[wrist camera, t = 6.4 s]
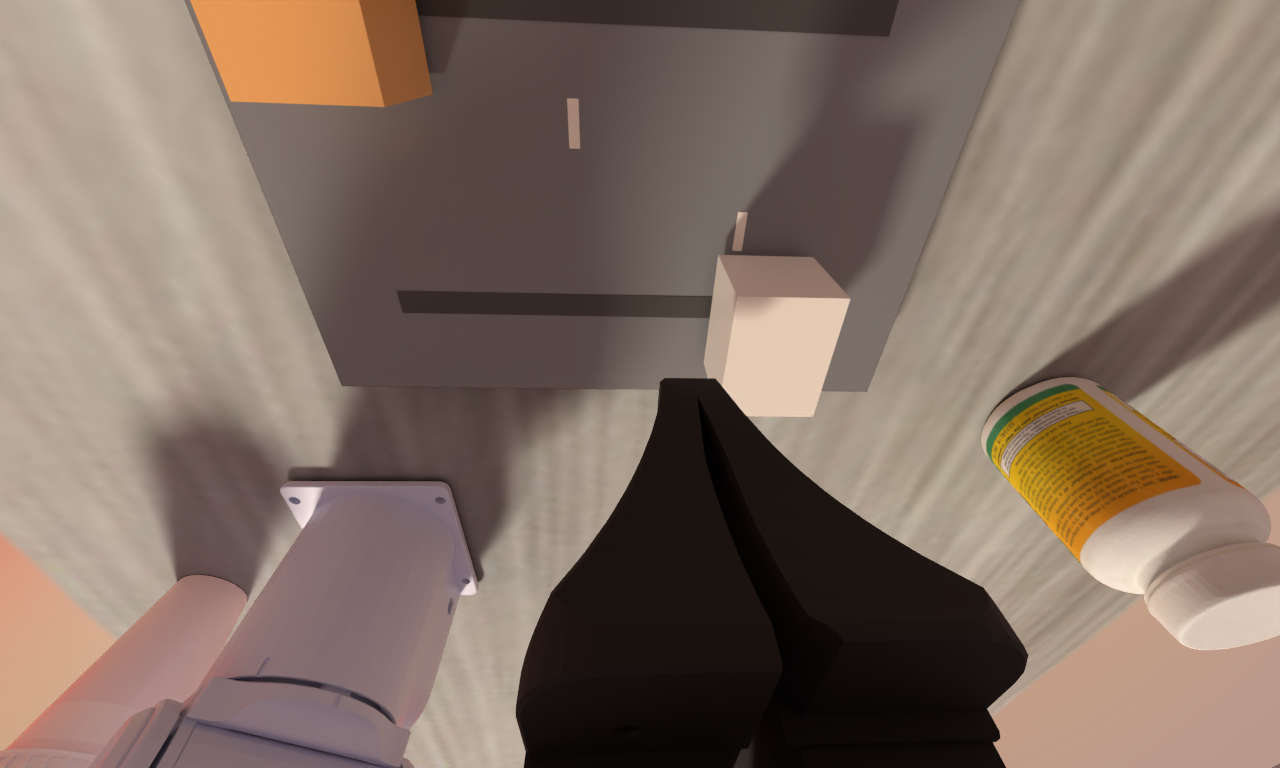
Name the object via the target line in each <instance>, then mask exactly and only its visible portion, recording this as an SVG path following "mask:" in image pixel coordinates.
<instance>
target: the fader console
mask: <svg viewBox="0 0 1280 768" xmlns="http://www.w3.org/2000/svg"><path fill="white" fill-rule="evenodd" d="M1019 1H1020V0H415V2H416V7H417V12H418V18H419V23H420V28H421V34H422V39H423V44H424V50H425V55H426V60H427V66H428V71H429V76H430V81H431V87H432V92H433V95H430V96H426V97H422V98H418V99H414V100H410V101H406V102H402V103H398V104H395V105H391V106H387V107H369V106H342V105H314V104H286V103H259V102H231V100H230V98H229V95H228V93H227V90H226V88H225V86H224V83H223V81H222V78H221V76H220V73H219V71H218V68H217V66H216V63H215V61H214V58H213V56H212V53H211V51H210V48H209V46H208V43H207V41H206V38H205V36H204V33H203V31H202V28H201V26H200V24H199V21H198V19H197V16H196V14H195V11H194V9H193V6H192V4H191V1H190V0H185V3H186V5H187V8H188V10H189V13H190V15H191V17H192V20H193V22H194V25H195V27H196V30H197V32H198V35H199V37H200V39H201V42H202V44H203V47H204V49H205V52H206V54H207V57H208V59H209V62H210V64H211V66H212V69H213V71H214V74H215V76H216V79H217V81H218V84H219V86H220V88H221V91H222V93H223V96H224V98H225V101H226V103H227V106H228V108H229V110H230V113H231V115H232V118H233V120H234V123H235V125H236V128H237V130H238V132H239V135H240V137H241V140H242V142H243V145H244V147H245V150H246V152H247V155H248V157H249V159H250V162H251V164H252V167H253V169H254V172H255V174H256V177H257V179H258V181H259V184H260V186H261V189H262V191H263V194H264V196H265V199H266V201H267V203H268V206H269V208H270V211H271V213H272V216H273V218H274V221H275V223H276V226H277V228H278V230H279V233H280V235H281V238H282V240H283V243H284V245H285V248H286V250H287V252H288V255H289V257H290V260H291V262H292V265H293V267H294V270H295V272H296V274H297V277H298V279H299V282H300V284H301V287H302V289H303V292H304V294H305V297H306V299H307V301H308V304H309V306H310V309H311V311H312V314H313V316H314V319H315V321H316V323H317V326H318V328H319V331H320V333H321V336H322V338H323V341H324V343H325V345H326V348H327V350H328V353H329V355H330V358H331V360H332V363H333V365H334V368H335V370H336V372H337V375H338V377H339V380H340V382H341V385H342V386H372V387H467V388H561V389H656V390H659V385H660V381H661V380H663V379H664V378H707V374H706V370H705V366H704V357H705V349H706V342H707V334H708V327H709V320H710V312H711V305H712V297H713V290H714V282H715V275H716V268H717V260H718V255H748V256H791V257H814V259H815V260H816V261H817V262H818V263H819V264H820V265H821V266H822V267H823V269H824V270H825V271H826V272H827V273H828V274H829V275H830V276H831V277H832V279H833V280H834V281H835V282H836V283H837V284H838V285H839V286H840V287H841V288H842V290H843V291H844V292H845V293H846V294H847V295H848V296H849V297H850V298H851V299H850V302H849V305H848V309H847V312H846V315H845V318H844V321H843V324H842V327H841V330H840V334H839V337H838V340H837V343H836V346H835V349H834V352H833V355H832V359H831V362H830V365H829V368H828V371H827V374H826V377H825V380H824V384H823V387H822V390H821V391H845V392H867V390H868V388H869V385H870V383H871V380H872V378H873V375H874V372H875V370H876V367H877V365H878V362H879V360H880V357H881V355H882V352H883V349H884V347H885V344H886V342H887V339H888V337H889V334H890V331H891V329H892V326H893V324H894V321H895V319H896V316H897V314H898V311H899V308H900V306H901V303H902V301H903V298H904V296H905V293H906V290H907V288H908V285H909V283H910V280H911V278H912V275H913V272H914V270H915V267H916V265H917V262H918V260H919V257H920V255H921V252H922V249H923V247H924V244H925V242H926V239H927V237H928V234H929V231H930V229H931V226H932V224H933V221H934V219H935V216H936V214H937V211H938V208H939V206H940V203H941V201H942V198H943V196H944V193H945V190H946V188H947V185H948V183H949V180H950V178H951V175H952V173H953V170H954V167H955V165H956V162H957V160H958V157H959V155H960V152H961V149H962V147H963V144H964V142H965V139H966V137H967V134H968V131H969V129H970V126H971V124H972V121H973V119H974V116H975V114H976V111H977V108H978V106H979V103H980V101H981V98H982V96H983V93H984V90H985V88H986V85H987V83H988V80H989V78H990V75H991V73H992V70H993V67H994V65H995V62H996V60H997V57H998V55H999V52H1000V49H1001V47H1002V44H1003V42H1004V39H1005V37H1006V34H1007V31H1008V29H1009V26H1010V24H1011V21H1012V19H1013V16H1014V14H1015V11H1016V8H1017V6H1018V3H1019Z"/></svg>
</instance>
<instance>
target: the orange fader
mask: <svg viewBox="0 0 1280 768" xmlns="http://www.w3.org/2000/svg"><path fill="white" fill-rule="evenodd" d="M190 1H191V4H192V6H193V9H194V11H195V14H196V16H197V19H198V21H199V24H200V26H201V28H202V31H203V33H204V36H205V38H206V41H207V43H208V46H209V48H210V51H211V53H212V56H213V58H214V61H215V63H216V66H217V68H218V71H219V73H220V76H221V78H222V81H223V83H224V86H225V88H226V90H227V93H228V95H229V98H230V100H231V102H259V103H286V104H314V105H342V106H369V107H387V106H391V105H395V104H398V103H402V102H406V101H410V100H414V99H418V98H422V97H426V96H430V95H433V92H432V87H431V81H430V76H429V71H428V66H427V60H426V55H425V50H424V44H423V39H422V34H421V28H420V23H419V18H418V12H417V7H416V2H415V0H190Z"/></svg>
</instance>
